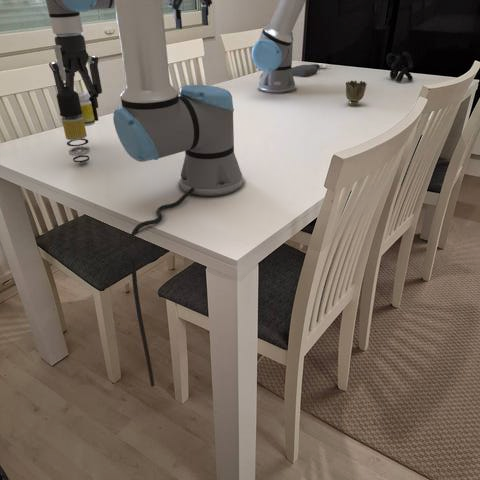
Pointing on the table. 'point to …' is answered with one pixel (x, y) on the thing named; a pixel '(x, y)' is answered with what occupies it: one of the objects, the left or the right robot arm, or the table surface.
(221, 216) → the table surface
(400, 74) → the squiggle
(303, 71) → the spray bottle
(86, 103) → the supplement bottle
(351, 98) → the cup
